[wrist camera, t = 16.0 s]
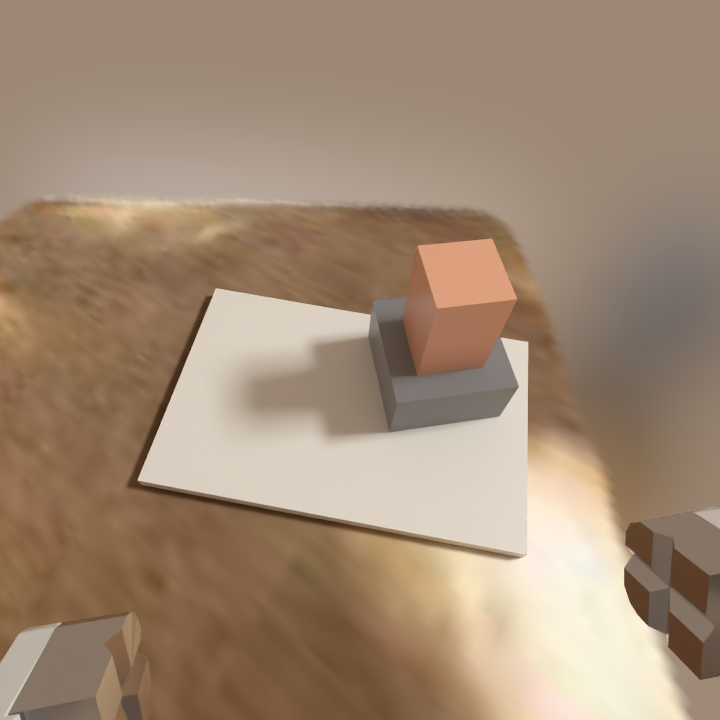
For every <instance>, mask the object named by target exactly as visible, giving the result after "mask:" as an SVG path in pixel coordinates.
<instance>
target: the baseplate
mask: <svg viewBox="0 0 720 720" xmlns="http://www.w3.org/2000/svg"><path fill="white" fill-rule="evenodd" d="M370 318H371V315H367V314H361V313H356V312H350V311H344V310H338V309H332V308H327V307H321V306H315V305H309V304H303V303H298V302H292V301H286V300H280V299H274V298H269V297H263V296H257V295H251V294H246V293H240V292H234V291H228V290H222V289H217V288H216V290H215V292H214V294H213V297H212V299H211V302H210V304H209V307H208V309H207V312H206V314H205V316H204V319H203V321H202V324H201V326H200V329H199V331H198V334H197V336H196V338H195V341H194V343H193V346H192V348H191V351H190V353H189V356H188V358H187V360H186V363H185V365H184V368H183V370H182V373H181V375H180V378H179V380H178V382H177V385H176V387H175V390H174V392H173V395H172V397H171V400H170V402H169V404H168V407H167V409H166V412H165V414H164V417H163V419H162V422H161V424H160V426H159V429H158V431H157V434H156V436H155V439H154V441H153V444H152V446H151V448H150V451H149V453H148V456H147V458H146V461H145V463H144V466H143V468H142V470H141V473H140V475H139V478H138V480H137V481H138V482H139V483H140V484H141V485H145V486H150V487H155V488H160V489H165V490H171V491H176V492H181V493H186V494H192V495H197V496H202V497H207V498H213V499H218V500H223V501H228V502H234V503H239V504H244V505H249V506H254V507H260V508H265V509H270V510H275V511H281V512H286V513H291V514H296V515H302V516H307V517H312V518H317V519H322V520H328V521H333V522H338V523H343V524H349V525H354V526H359V527H364V528H370V529H375V530H380V531H385V532H391V533H396V534H401V535H406V536H411V537H417V538H422V539H427V540H432V541H438V542H443V543H448V544H453V545H459V546H464V547H469V548H474V549H480V550H485V551H490V552H495V553H500V554H506V555H511V556H516V557H521V558H522V557H524V556H525V555H527V426H528V342H523V341H518V340H512V339H506V338H501V340H502V343H503V345H504V348H505V351H506V353H507V356H508V359H509V361H510V364H511V367H512V369H513V372H514V375H515V377H516V380H517V382H518V385H519V387H518V389H517V391H516V392H515V394H514V395H513V397H512V398H511V400H510V401H509V403H508V404H507V406H506V407H505V409H504V410H503V412H502V414H501V415H500V416H499V417H493V418H486V419H479V420H472V421H465V422H458V423H451V424H444V425H437V426H430V427H424V428H417V429H410V430H403V431H396V432H389V428H388V423H387V419H386V414H385V410H384V405H383V401H382V396H381V392H380V387H379V383H378V378H377V374H376V369H375V365H374V360H373V356H372V351H371V347H370V342H369V338H368V335H369V326H370Z"/></svg>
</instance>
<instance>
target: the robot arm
mask: <svg viewBox="0 0 720 720" xmlns="http://www.w3.org/2000/svg"><path fill="white" fill-rule="evenodd" d="M625 545H626V546H627V548H628V549H629V550H630V551H631V553H632V554H633V556H632V557H631V559H630V560H629V562H628V563H627V565H626V566H625V568H624V586H625V589H626V592H627V595H628V598H629V601H630V603H631V605H632V606H633V608H634V610H635V611H636V613H637V614H638V616H639V617H640V618H641V619H642V620H643V621H644V622H645V623H646V624H647V625H648V626H650V627H652V628H654V629H656V630H658V631H661V632H663V633H665V634H667V643H668V647H669V648H670V649H671V650H672V651H673V652H674V653H675V654H676V655H677V656H678V658H680V660H681V661H682V662H683V663H684V664H685V665H686V666H687V667H688V668H689V669H690V670H691V671H692V672H693V673H694V674H695V675H696V676H697V677H698V678H699V679H700V680H703V679H708V678H713V677H718V676H720V508H715V507H705V508H701V509H696V510H691V511H687V512H684V513H682V514H676V515H671V516H665V517H660V518H655V519H649V520H644V521H639V522H634V523H630V525H629V527H628V529H627V531H626V543H625ZM141 635H142V633H141V629H140V625H139V621H138V617H137V615H136V614H134V613H133V612H132V611H131V612H124V613H118V614H112V615H105V616H99V617H92V618H86V619H80V620H73V621H67V622H63V623H55V624H49V625H44V626H38V627H32V628H28V629H26V630H24V631H23V632H21V633H19V635H18V636H17V637H16V639H15V640H14V642H13V644H12V645H11V647H10V648H9V650H8V651H7V653H6V655H5V656H4V658H3V659H2V661H1V662H0V720H148V718H149V714H150V704H151V691H152V688H151V675H150V669H149V664H148V659H147V658H146V657H144V656H143V655H142V654H140V653H139V652H138V651H137V648H138V645H139V642H140V639H141Z"/></svg>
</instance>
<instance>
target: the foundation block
mask: <svg viewBox="0 0 720 720" xmlns="http://www.w3.org/2000/svg"><path fill="white" fill-rule="evenodd" d="M406 299H407V297H405V298H396V299H386V300H377V301H372V310H371V318H370V326H369V335H368V338H369V342H370V347H371V351H372V356H373V360H374V365H375V369H376V374H377V378H378V383H379V387H380V392H381V396H382V401H383V405H384V410H385V414H386V419H387V423H388V428H389V432H396V431H403V430H410V429H417V428H424V427H430V426H437V425H444V424H451V423H458V422H465V421H472V420H479V419H486V418H493V417H499V416H500V415H501V414H502V412H503V410H504V409H505V407H506V406H507V404H508V403H509V401H510V400H511V398H512V397H513V395H514V394H515V392H516V391H517V389H518V387H519V385H518V382H517V380H516V377H515V375H514V372H513V369H512V367H511V364H510V361H509V359H508V356H507V353H506V351H505V348H504V345H503V343H502V340H501V337H500V335H499V337H498V339H497V341H496V343H495V345H494V347H493V349H492V351H491V353H490V355H489V357H488V359H487V361H486V363H485V365H484V367H480V368H472V369H465V370H457V371H449V372H442V373H434V374H427V375H419V376H417V373H416V369H415V365H414V362H413V358H412V354H411V350H410V347H409V343H408V339H407V335H406V332H405V328H404V324H403V321H402V318H403V313H404V308H405V304H406Z"/></svg>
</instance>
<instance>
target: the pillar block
mask: <svg viewBox="0 0 720 720" xmlns="http://www.w3.org/2000/svg"><path fill="white" fill-rule="evenodd" d="M516 301H517V298H516V295H515V293H514V290H513V288H512V286H511V283H510V281H509V278H508V276H507V273H506V271H505V269H504V266H503V264H502V261H501V259H500V257H499V254H498V252H497V249H496V247H495V244H494V242H493V240H492V239H483V240H473V241H463V242H452V243H442V244H432V245H421V246H417V251H416V255H415V260H414V265H413V270H412V275H411V280H410V284H409V289H408V294H407V299H406V304H405V308H404V313H403V318H402V321H403V324H404V328H405V332H406V335H407V339H408V343H409V347H410V350H411V354H412V358H413V362H414V365H415V369H416V373H417V376H419V375H427V374H434V373H442V372H449V371H457V370H465V369H472V368H480V367H484V365H485V363H486V361H487V359H488V357H489V355H490V353H491V351H492V349H493V347H494V345H495V343H496V341H497V339H498V337H499V335H500V333H501V331H502V329H503V327H504V325H505V323H506V321H507V319H508V317H509V315H510V313H511V311H512V309H513V307H514V305H515V303H516Z"/></svg>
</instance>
